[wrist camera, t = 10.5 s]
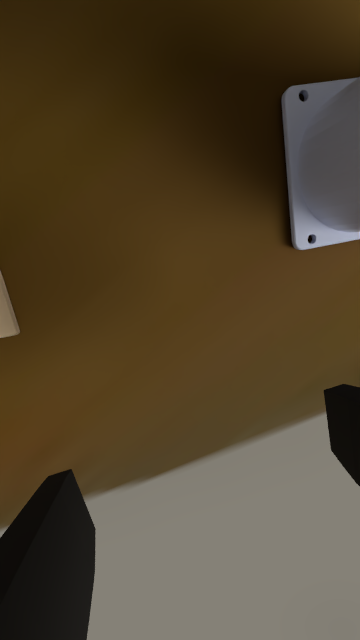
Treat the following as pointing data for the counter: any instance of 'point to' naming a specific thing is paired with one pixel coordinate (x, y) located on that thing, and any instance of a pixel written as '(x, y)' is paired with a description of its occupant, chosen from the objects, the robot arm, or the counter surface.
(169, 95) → the counter surface
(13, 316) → the tan flat rectangular panel
